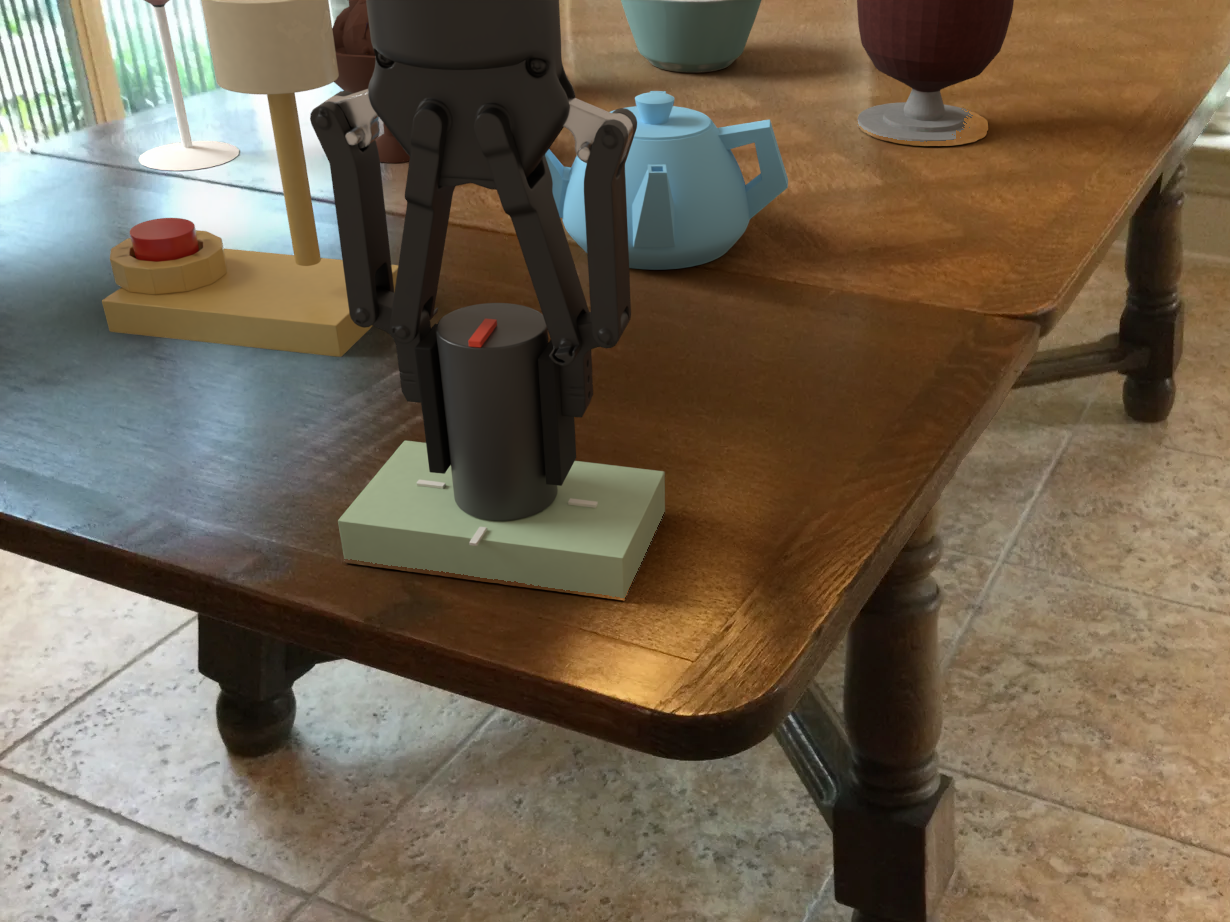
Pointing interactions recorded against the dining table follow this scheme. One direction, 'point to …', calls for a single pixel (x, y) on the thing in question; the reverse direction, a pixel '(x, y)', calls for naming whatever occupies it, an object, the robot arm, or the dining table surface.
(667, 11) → the bowl
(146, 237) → the lamp switch
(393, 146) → the ice cream bowl
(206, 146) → the wineglass
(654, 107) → the teapot
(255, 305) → the lamp base
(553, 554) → the dimmer panel
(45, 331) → the dining table surface
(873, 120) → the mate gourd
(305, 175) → the lamp
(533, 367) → the dimmer knob
